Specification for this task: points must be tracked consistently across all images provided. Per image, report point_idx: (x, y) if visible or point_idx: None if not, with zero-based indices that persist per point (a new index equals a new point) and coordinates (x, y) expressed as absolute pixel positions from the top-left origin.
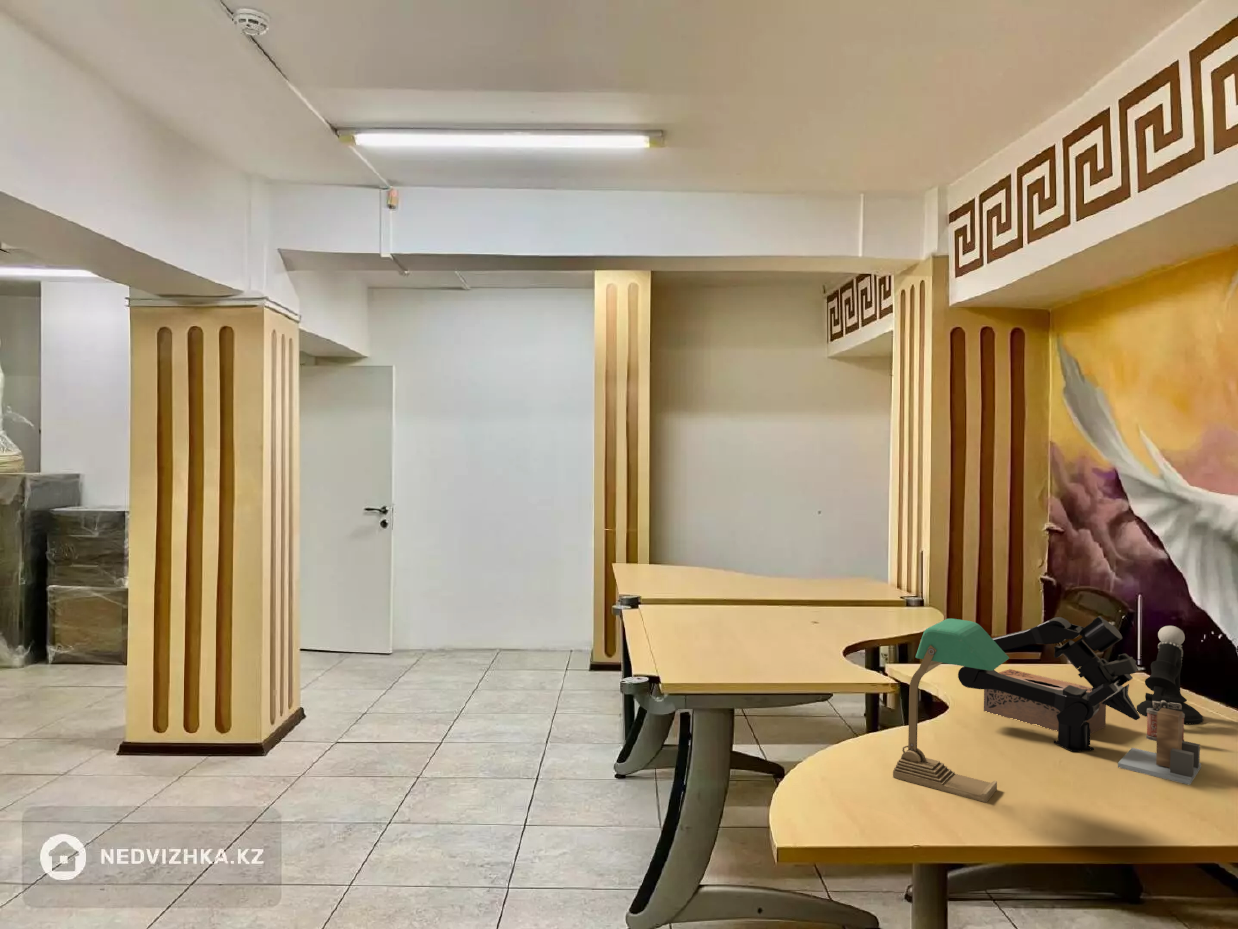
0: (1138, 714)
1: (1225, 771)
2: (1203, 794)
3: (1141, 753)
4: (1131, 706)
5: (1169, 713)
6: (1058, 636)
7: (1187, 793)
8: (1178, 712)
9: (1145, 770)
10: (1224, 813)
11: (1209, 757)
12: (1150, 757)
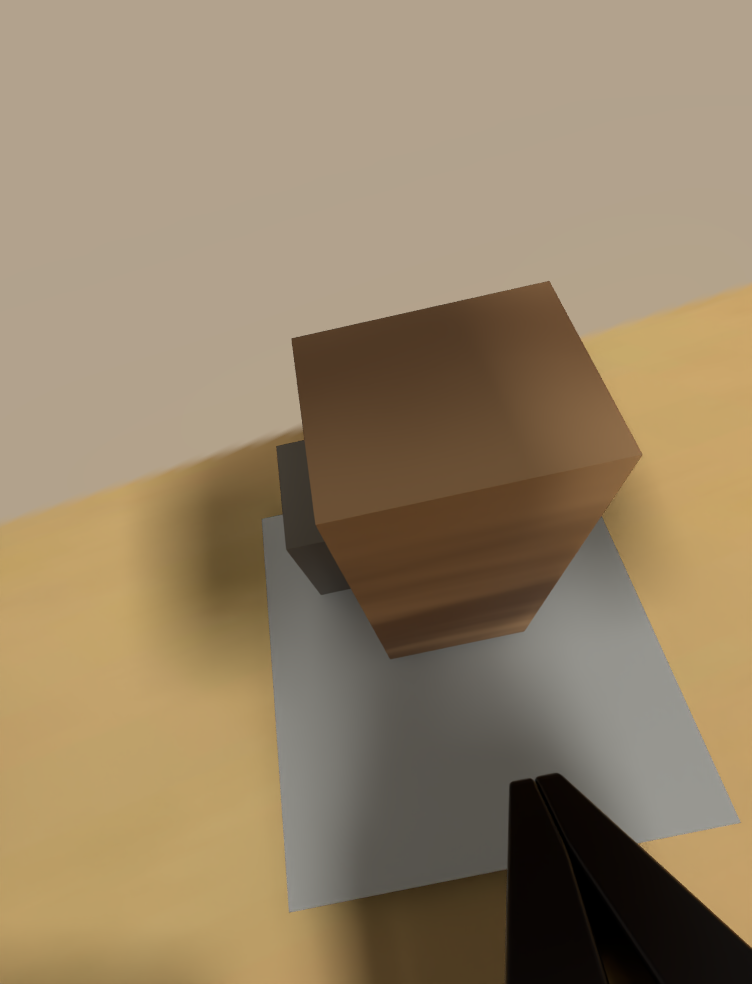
0: (527, 808)
1: (231, 458)
2: (620, 397)
3: (366, 799)
4: (698, 950)
5: (519, 365)
6: None
7: (684, 430)
8: (368, 341)
9: (657, 642)
10: (737, 298)
11: (68, 565)
12: (397, 721)
